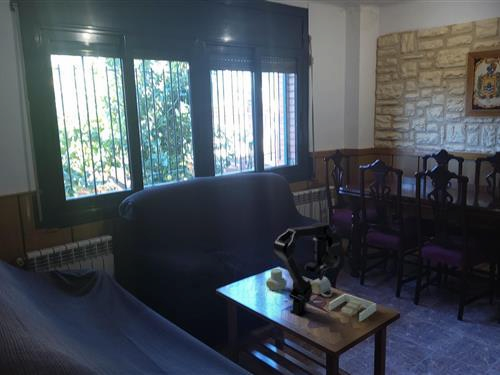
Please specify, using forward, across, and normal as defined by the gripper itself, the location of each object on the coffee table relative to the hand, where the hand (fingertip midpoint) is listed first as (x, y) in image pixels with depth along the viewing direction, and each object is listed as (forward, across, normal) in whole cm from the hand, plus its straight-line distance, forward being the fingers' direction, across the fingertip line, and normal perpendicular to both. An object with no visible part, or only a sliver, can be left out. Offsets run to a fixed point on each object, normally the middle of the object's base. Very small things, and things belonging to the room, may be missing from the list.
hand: (320, 280), depth 204 cm
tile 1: (+12, +1, -15) cm, 20 cm away
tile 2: (+12, +6, -15) cm, 20 cm away
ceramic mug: (+12, +10, +6) cm, 17 cm away
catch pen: (+12, +4, -15) cm, 20 cm away
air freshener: (+12, -1, +27) cm, 30 cm away
